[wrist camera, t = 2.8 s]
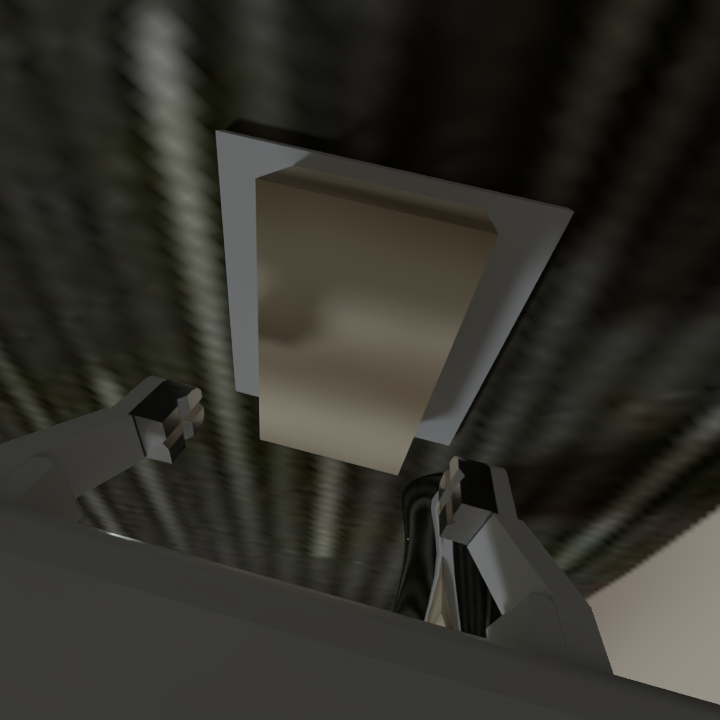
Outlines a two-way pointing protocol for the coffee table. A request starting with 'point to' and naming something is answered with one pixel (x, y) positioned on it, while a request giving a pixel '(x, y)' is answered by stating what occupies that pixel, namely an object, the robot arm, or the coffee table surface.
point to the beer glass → (439, 569)
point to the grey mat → (507, 212)
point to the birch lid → (357, 309)
